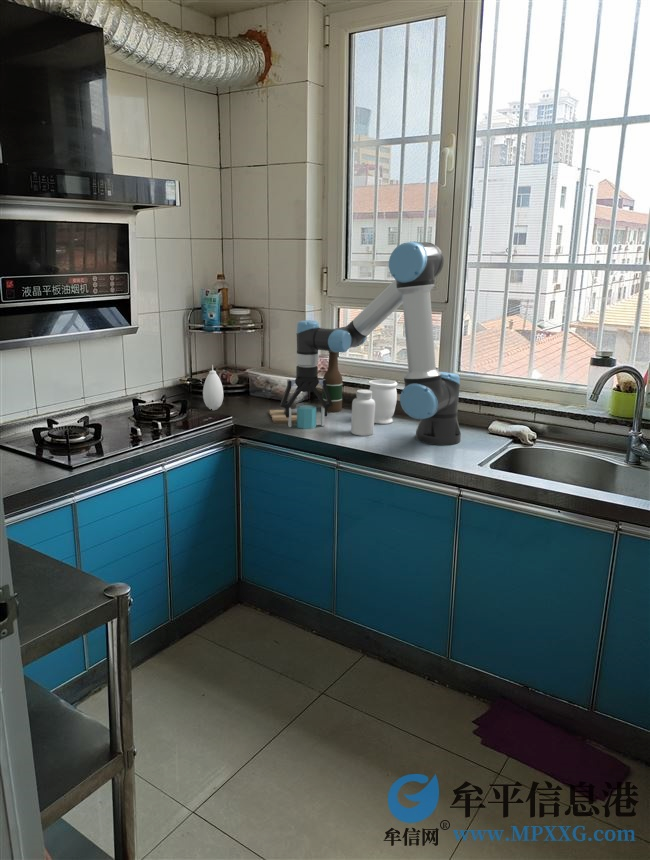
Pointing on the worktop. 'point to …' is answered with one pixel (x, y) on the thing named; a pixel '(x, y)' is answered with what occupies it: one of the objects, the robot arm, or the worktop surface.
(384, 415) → the jar
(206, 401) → the white air blower bulb
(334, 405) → the beer bottle
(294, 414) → the stud block
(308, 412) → the turquoise hexagonal prism
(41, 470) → the worktop surface
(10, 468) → the worktop surface
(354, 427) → the pill bottle
